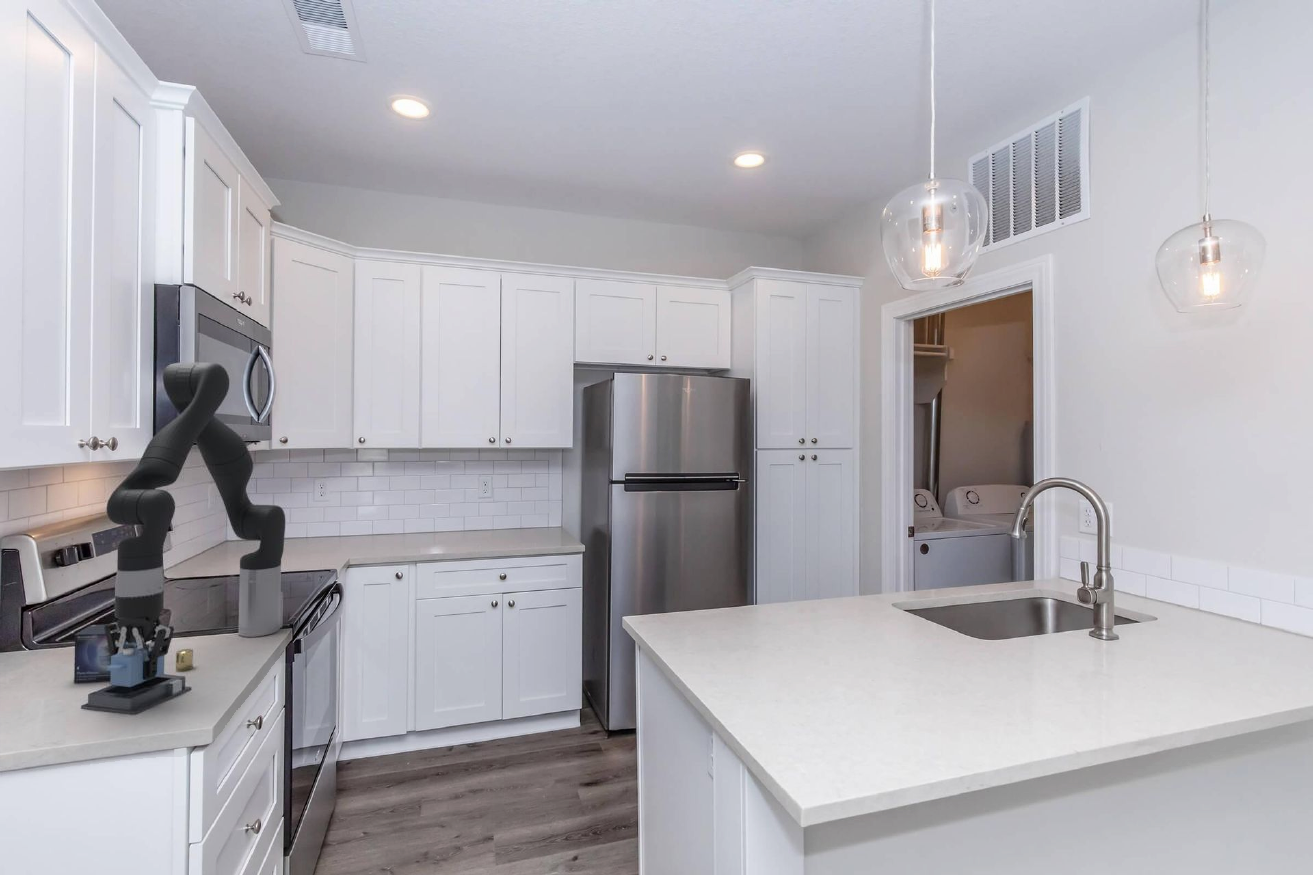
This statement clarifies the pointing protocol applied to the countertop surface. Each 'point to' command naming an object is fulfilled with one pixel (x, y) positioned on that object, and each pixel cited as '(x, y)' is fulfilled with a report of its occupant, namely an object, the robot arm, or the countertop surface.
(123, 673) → the servo
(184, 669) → the cylinder
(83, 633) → the small box
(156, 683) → the frame
